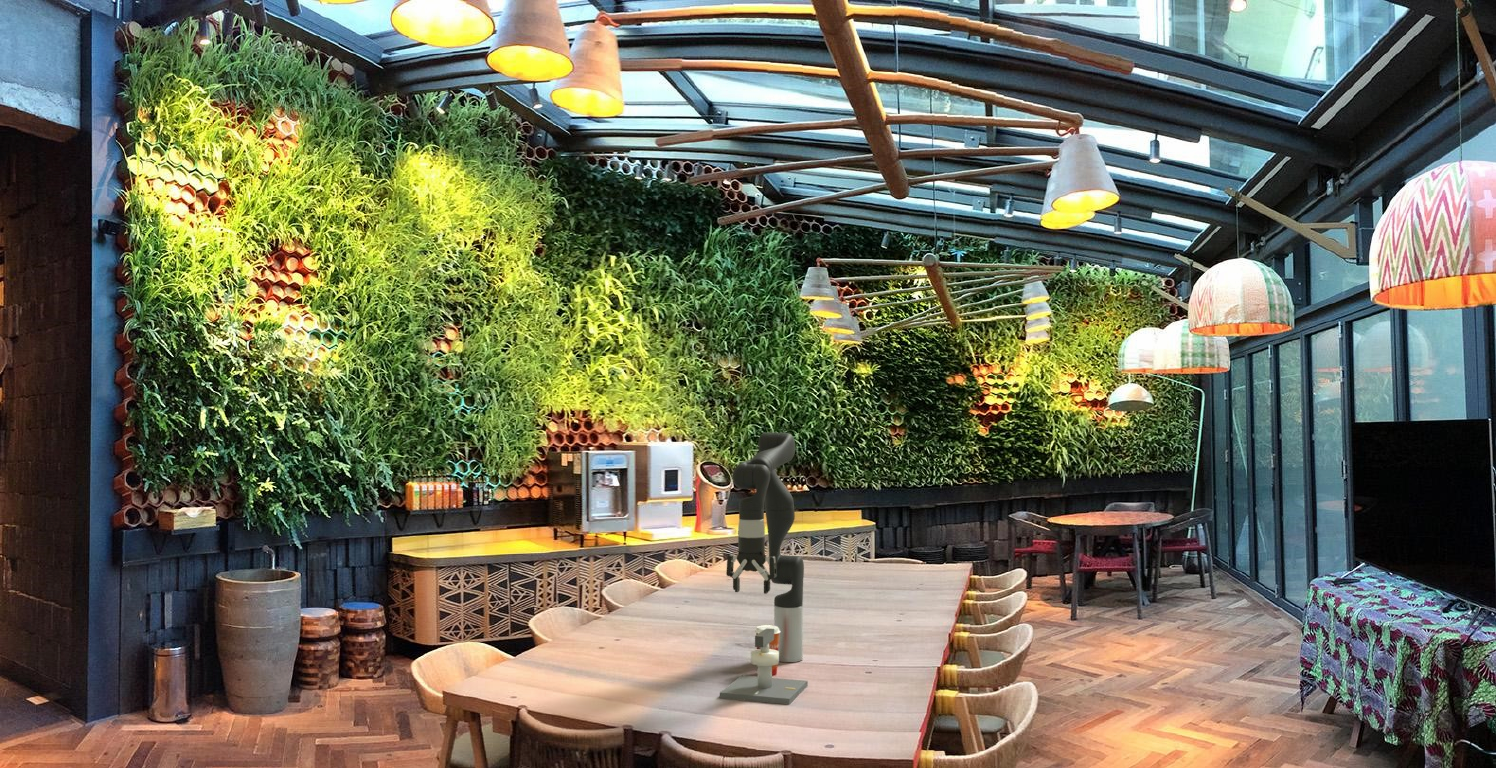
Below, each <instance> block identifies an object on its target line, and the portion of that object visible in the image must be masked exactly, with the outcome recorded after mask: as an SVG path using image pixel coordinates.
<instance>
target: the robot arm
mask: <svg viewBox="0 0 1496 768" xmlns="http://www.w3.org/2000/svg"><path fill="white" fill-rule="evenodd" d="M757 445H758V446H757V447H758V453H756V454H755V455H754V456H753V457H752V458H751V459H748V460H745V461H742V462H741V463H738V464H737V465H736V466H735V468H734V469H733V472H732V483H733V485H735V487H736V488H738V489H741V490H755V493H754V495H753V496H748V497H743V498H740V500H739V504H738V506H739V507H738V516H739V517H738V518H739V519H738V529H737V537H738V538H737V539H738V540H737V542H738V543H737V544H738V545H737V551H738V552H737V555H735V554H733V553H731V554H729V555H727V558H726V571H725V572H726V574H725V575H726V576H727V577H730V578H731V579H732V590H733V591H734V592H735V593H739V592H740V590H741V588H740V587H741V584H740V581H741V579H740V576H741V574H742V573H743V572H744V571H745V572H758V573H759V574H760V575H761V576H762V578H763V579H764V580H763V594H764V595H767V594H769V592H770V591H771V582H772V583H773V584H777V585H789V586H790V585H791V589H790V590H789V591H786V592H783V593H781V594H778V595H776V596H775V597H774V601H773V603H774V606H773V607H774V608H773V609H774V610H773V611H774V615H773V617H774V618H773V619H774V622H773V626H777V627H778V628H779V630H780V631H781V632H780V633H779V646H778V651H779V662H784V663H795V662H796V663H797V662H800V661H803V656H804V655H803V651H804V650H803V649H804V648H803V647H804V645H803V640H804V639H803V638H804V637H803V636H804V634H803V625H804V622H803V621H804V619H803V617H804V616H803V612H804V611H803V609H804V608H803V605H804V604H803V602H804V600H803V599H804V598H803V597H804V576H805V563H804V560H803V558H802V557H801V556H799V555H782V554H781V547H782V544H783V541H784V540H785V538H786V536H787V534H788V533H789V531H790V529H791V527H793V524H794V521H795V517H796V515H795V505H794V504H795V502H794V498H793V496H792V494H791V492H790V491H789V489H788V488H787V486H786V485H785V484H784V483H783V481H782V480H781V479H780V477H779V476H778V474H777V472H776V469H777V468H779V467H781V466H782V465H785V464H787V463H788V462H791V461H792V460H793V458H794V457H795V452H796V441H795V438H794V436H793V434H791V433H788V432H762V433H761V434H760V435H759V437H758V444H757ZM765 519H766V525H765ZM765 527H766V528H767V536H768V556H766V554H765V552H766V549H765V547H766V546H765V545H766V541H765V540H766V528H765ZM736 561H737V563H738V564H739V566H738V567H737V569H736V570H735V572H734V566H735V565H734V564H735V562H736ZM766 562H767V564H768V569H769V570H768V569H767V568H766V567H765V565H764V564H765V563H766ZM768 571H769V572H768Z"/></svg>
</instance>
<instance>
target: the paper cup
mask: <svg viewBox="0 0 1496 768" xmlns="http://www.w3.org/2000/svg"><path fill="white" fill-rule="evenodd" d="M766 628H768V629H774V640H773V641H771V642H770V643H769V649H773V650H777V651H778V646H779V633H780V632H781V631H780V630H779V628H778V627H777V626H774V625H772V624H771V625H769V624H767V625H758V626H757V627H756V630H754V632H755V636H756V635H757V634H759V633H760V632H762V631H763V630H765V629H766ZM756 649H761V647H756ZM777 673H778V664H777V665H773V666H772V677H773V676H776V675H777Z"/></svg>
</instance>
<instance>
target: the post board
mask: <svg viewBox="0 0 1496 768" xmlns="http://www.w3.org/2000/svg"><path fill="white" fill-rule="evenodd" d="M808 683H809V682H808V680H801V679H792V678H778V677H773V676H772V666H757V676H756V675H755V676H754V675H744V674H743V675H741V676H739V677H738V678H737V679H736V680H734V681H733V682H731V683H730V684H729V685H728V686H726V687H725V688H724V689H722V690H721V691H720V692H719V699H725V700H726V699H728V700H738V701H750V702H759V703H760V702H761V703H771V704H783V705H791V703H792V702H794V701H795V700H796V699H797V698H798V696H799V695H801V693H802V692H803V691H805V689H806V688H807V687H808Z"/></svg>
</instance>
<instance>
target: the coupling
mask: <svg viewBox="0 0 1496 768" xmlns="http://www.w3.org/2000/svg"><path fill="white" fill-rule="evenodd" d="M773 640H774V629H768V628H766V629H765V630H763V631H762V632H760V633H759V634H757V635H756V634H755V635H754V647H755V648H756V649H753V650H751V651H750V664H751V665H753V666H757V667H758V666H773V665H777V666H778V664H780V661H779V651H777V650H773V649H769V643H770V642H771V641H773ZM757 647H761V649H757Z"/></svg>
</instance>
